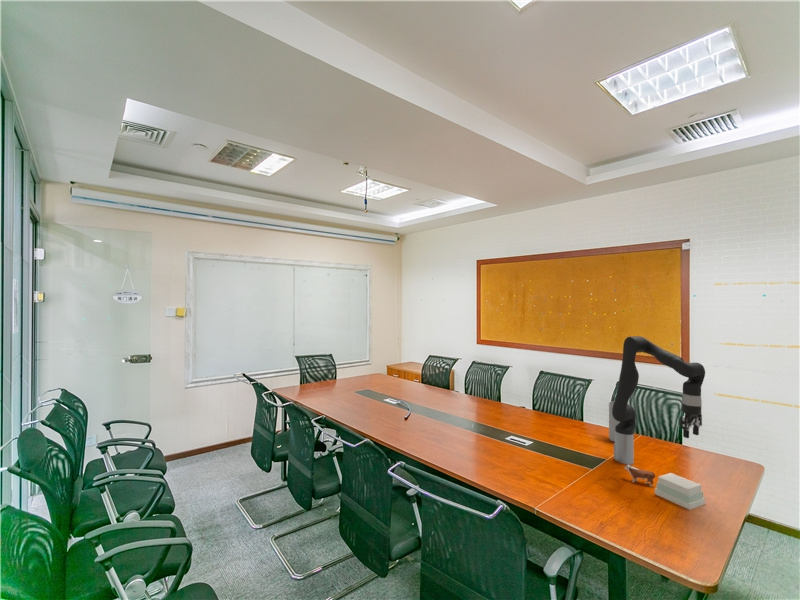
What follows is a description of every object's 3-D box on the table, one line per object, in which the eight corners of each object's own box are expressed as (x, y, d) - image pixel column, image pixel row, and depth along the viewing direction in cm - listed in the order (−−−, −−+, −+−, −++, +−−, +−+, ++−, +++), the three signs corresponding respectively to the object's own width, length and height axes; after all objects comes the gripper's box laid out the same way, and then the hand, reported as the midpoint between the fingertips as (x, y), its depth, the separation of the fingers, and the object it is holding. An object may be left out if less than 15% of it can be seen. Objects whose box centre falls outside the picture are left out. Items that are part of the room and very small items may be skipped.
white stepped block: (654, 494, 176) (654, 476, 176) (669, 489, 181) (669, 471, 181) (690, 510, 162) (689, 490, 162) (705, 504, 167) (704, 485, 167)
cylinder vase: (632, 440, 245) (632, 403, 245) (628, 446, 236) (628, 407, 236) (611, 436, 253) (611, 400, 254) (607, 441, 244) (606, 404, 244)
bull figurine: (624, 477, 193) (624, 462, 193) (655, 485, 185) (655, 469, 185) (623, 480, 190) (623, 465, 190) (654, 488, 181) (654, 472, 181)
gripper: (690, 399, 184) (690, 431, 184) (674, 403, 177) (674, 435, 178) (708, 403, 177) (707, 436, 177) (692, 407, 171) (691, 441, 171)
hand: (690, 436), depth 177 cm, fingers open, 8 cm apart
